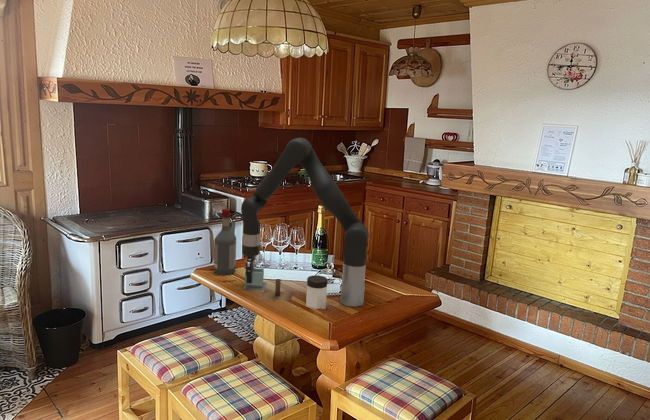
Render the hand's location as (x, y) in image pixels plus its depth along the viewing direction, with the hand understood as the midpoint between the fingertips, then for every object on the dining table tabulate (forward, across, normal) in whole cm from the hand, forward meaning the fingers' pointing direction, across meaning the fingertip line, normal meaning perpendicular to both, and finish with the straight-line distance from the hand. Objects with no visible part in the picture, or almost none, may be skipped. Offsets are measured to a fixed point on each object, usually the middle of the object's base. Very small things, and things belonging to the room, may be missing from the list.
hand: (250, 280), depth 213 cm
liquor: (+4, +18, +14) cm, 24 cm away
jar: (+4, -16, -29) cm, 33 cm away
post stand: (+4, -10, -13) cm, 16 cm away
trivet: (+3, 0, -2) cm, 4 cm away
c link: (+1, 0, -2) cm, 2 cm away
